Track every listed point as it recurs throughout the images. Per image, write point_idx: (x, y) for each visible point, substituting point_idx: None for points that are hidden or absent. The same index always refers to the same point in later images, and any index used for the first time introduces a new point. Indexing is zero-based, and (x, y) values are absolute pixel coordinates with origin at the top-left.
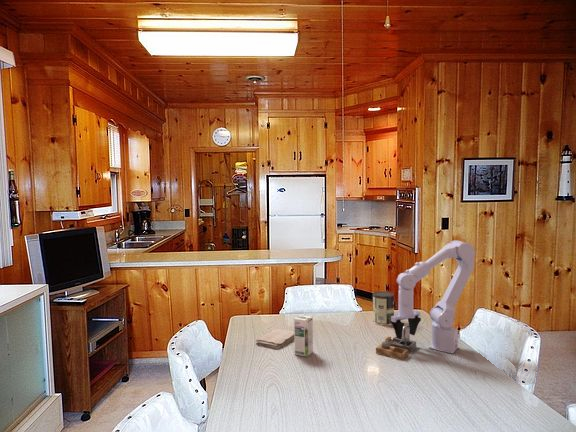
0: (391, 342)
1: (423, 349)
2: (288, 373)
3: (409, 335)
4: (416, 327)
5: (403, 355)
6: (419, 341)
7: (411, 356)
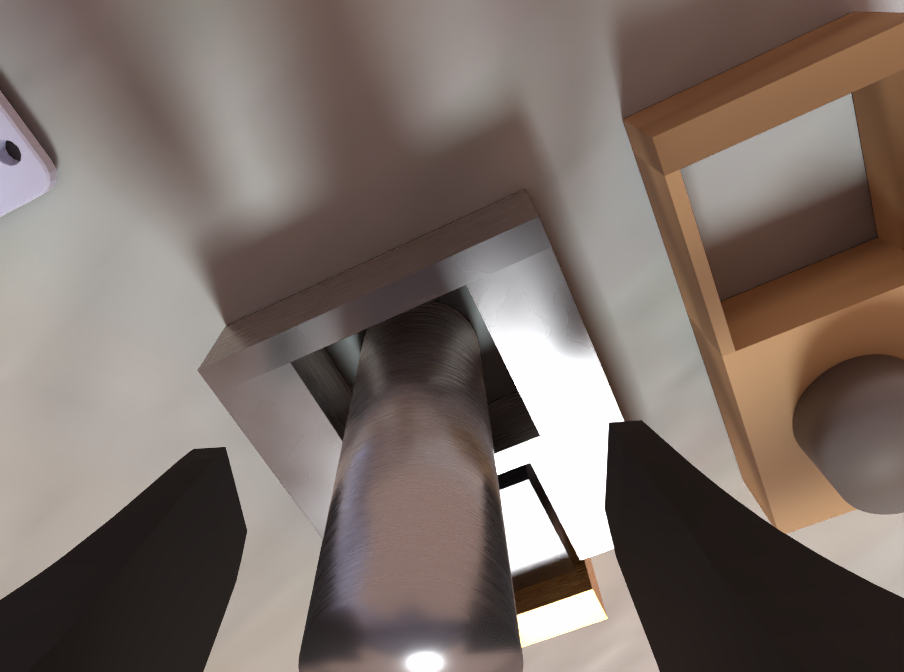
0: None
1: (180, 192)
2: None
3: (382, 438)
4: (79, 559)
5: (886, 21)
6: (39, 448)
7: (593, 66)
